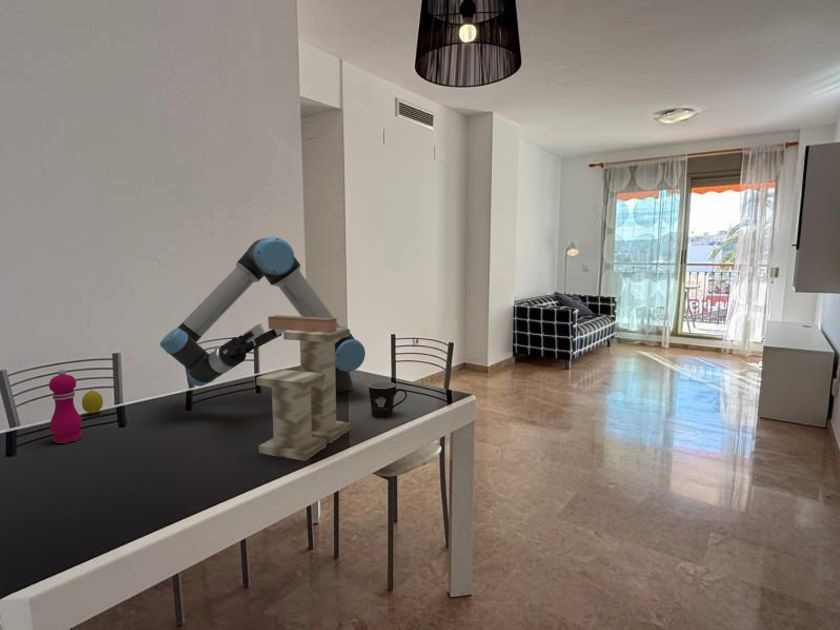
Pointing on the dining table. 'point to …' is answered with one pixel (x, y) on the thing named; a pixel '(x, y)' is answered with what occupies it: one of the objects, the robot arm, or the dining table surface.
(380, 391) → the coffee mug
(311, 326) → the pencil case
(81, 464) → the dining table surface
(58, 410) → the pepper mill
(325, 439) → the two-tier stand
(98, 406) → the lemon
